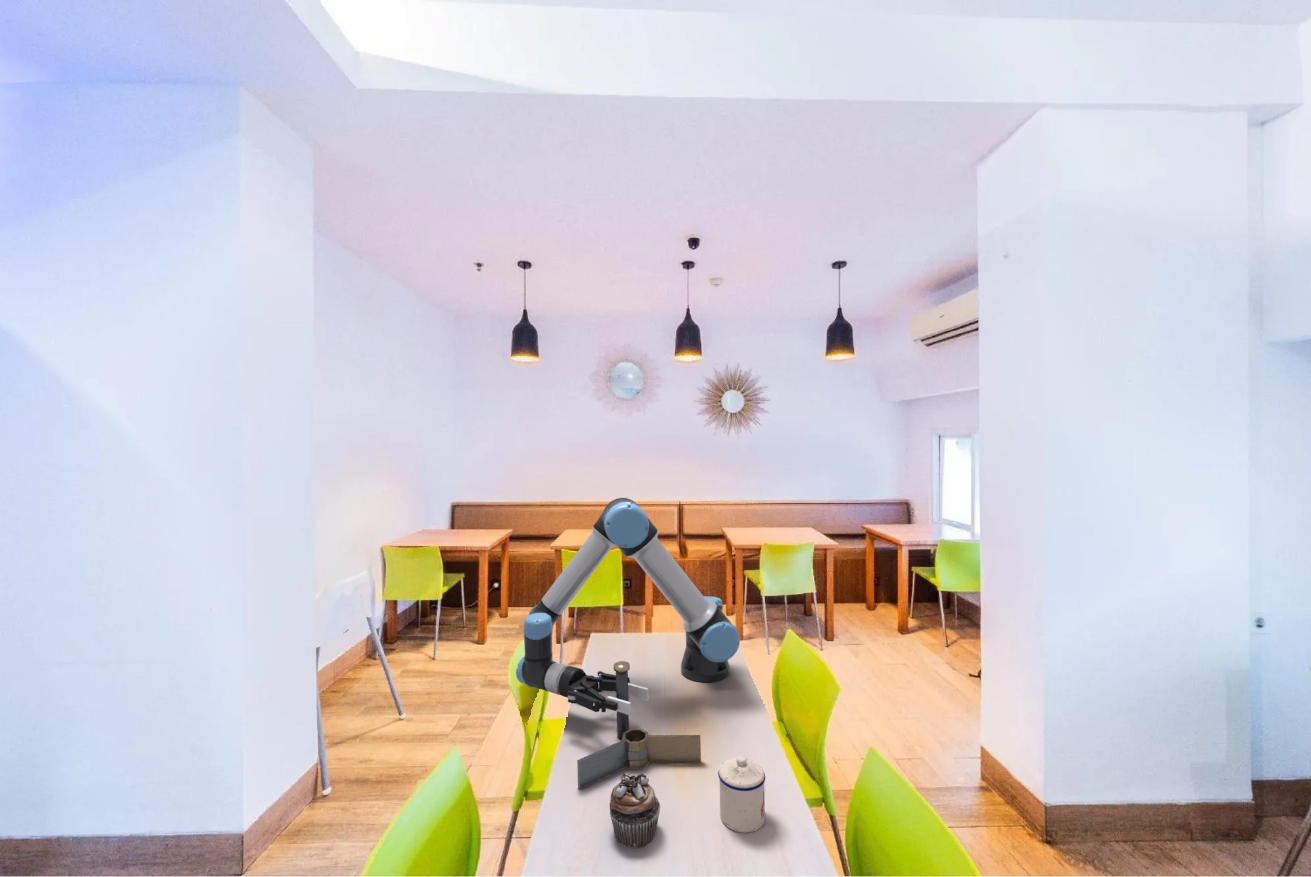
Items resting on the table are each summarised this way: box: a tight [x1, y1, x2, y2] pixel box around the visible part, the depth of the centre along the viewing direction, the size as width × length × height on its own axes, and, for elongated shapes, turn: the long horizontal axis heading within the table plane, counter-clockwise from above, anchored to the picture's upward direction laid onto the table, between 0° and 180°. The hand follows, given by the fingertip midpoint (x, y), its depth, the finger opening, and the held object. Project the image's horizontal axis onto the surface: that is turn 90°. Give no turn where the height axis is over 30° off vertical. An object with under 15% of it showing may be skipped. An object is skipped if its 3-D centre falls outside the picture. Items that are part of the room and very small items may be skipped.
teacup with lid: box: [717, 755, 766, 833], centre depth 106 cm, size 12×9×12 cm
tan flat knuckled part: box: [621, 728, 702, 770], centre depth 123 cm, size 18×6×6 cm, turn 87°
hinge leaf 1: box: [576, 738, 648, 790], centre depth 119 cm, size 18×6×6 cm, turn 127°
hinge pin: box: [613, 660, 631, 741], centre depth 133 cm, size 4×4×18 cm
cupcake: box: [609, 771, 661, 849], centre depth 101 cm, size 10×10×10 cm
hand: (639, 701), depth 131 cm, fingers open, 7 cm apart
